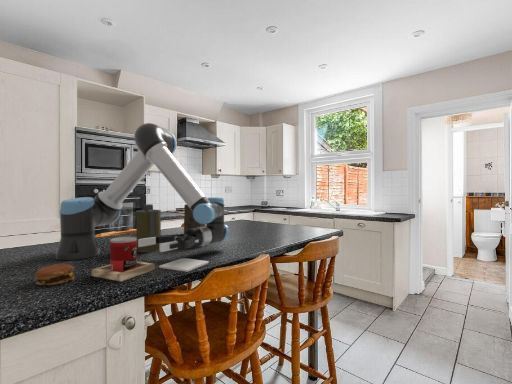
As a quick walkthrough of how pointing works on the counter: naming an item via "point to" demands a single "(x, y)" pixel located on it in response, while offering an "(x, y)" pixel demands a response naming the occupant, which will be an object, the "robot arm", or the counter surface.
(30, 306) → the counter surface
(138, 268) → the oak holder frame
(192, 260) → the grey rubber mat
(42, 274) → the burger
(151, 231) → the canister
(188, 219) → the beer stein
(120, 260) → the canned food
